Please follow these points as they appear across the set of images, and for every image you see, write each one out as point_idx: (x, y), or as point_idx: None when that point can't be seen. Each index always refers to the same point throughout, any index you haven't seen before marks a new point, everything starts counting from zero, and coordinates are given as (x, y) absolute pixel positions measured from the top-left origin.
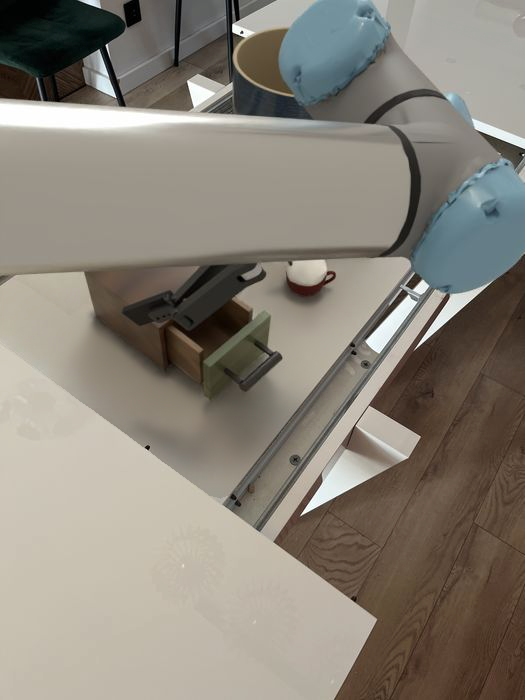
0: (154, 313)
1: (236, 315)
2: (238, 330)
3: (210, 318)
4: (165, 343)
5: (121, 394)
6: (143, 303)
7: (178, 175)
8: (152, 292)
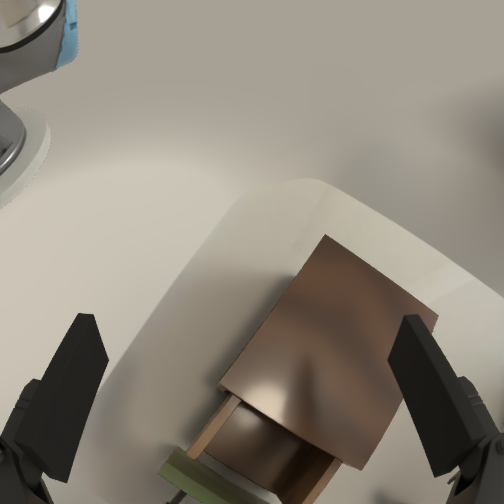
0: (23, 396)
1: (299, 487)
2: (288, 483)
3: None
4: None
5: (174, 336)
6: (53, 365)
7: None
8: (300, 354)
